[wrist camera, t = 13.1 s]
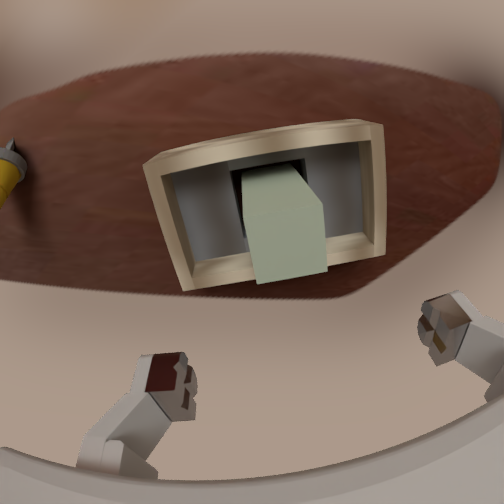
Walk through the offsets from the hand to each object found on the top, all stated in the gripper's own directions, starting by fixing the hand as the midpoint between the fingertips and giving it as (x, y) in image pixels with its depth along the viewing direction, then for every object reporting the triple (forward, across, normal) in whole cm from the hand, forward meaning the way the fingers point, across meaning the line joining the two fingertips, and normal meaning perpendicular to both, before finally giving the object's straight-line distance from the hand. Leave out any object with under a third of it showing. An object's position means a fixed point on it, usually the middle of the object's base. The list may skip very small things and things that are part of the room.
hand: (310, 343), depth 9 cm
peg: (+17, 0, 0) cm, 17 cm away
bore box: (+17, -1, 0) cm, 17 cm away
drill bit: (+18, +22, -8) cm, 30 cm away
